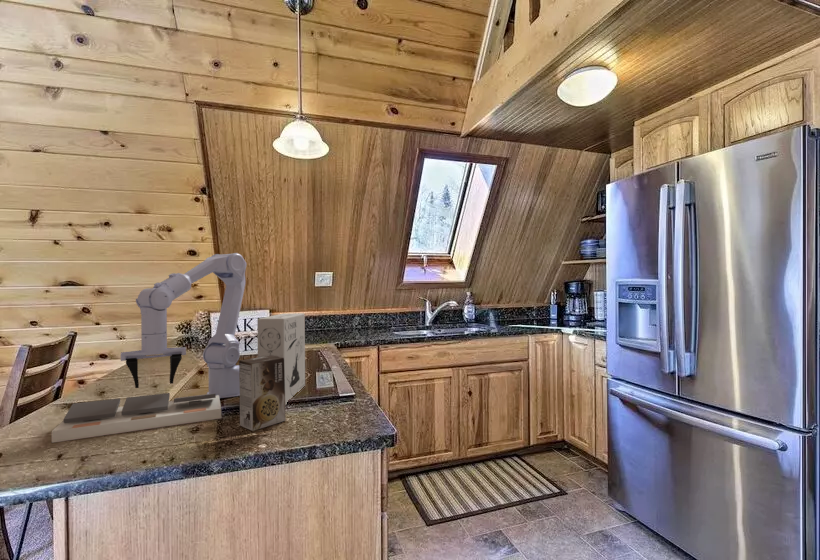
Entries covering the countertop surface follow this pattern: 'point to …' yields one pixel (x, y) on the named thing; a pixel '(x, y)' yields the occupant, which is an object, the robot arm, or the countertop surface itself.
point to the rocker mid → (146, 404)
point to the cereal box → (285, 347)
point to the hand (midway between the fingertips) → (154, 385)
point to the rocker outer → (92, 410)
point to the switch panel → (140, 420)
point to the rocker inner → (194, 398)
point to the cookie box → (262, 392)
